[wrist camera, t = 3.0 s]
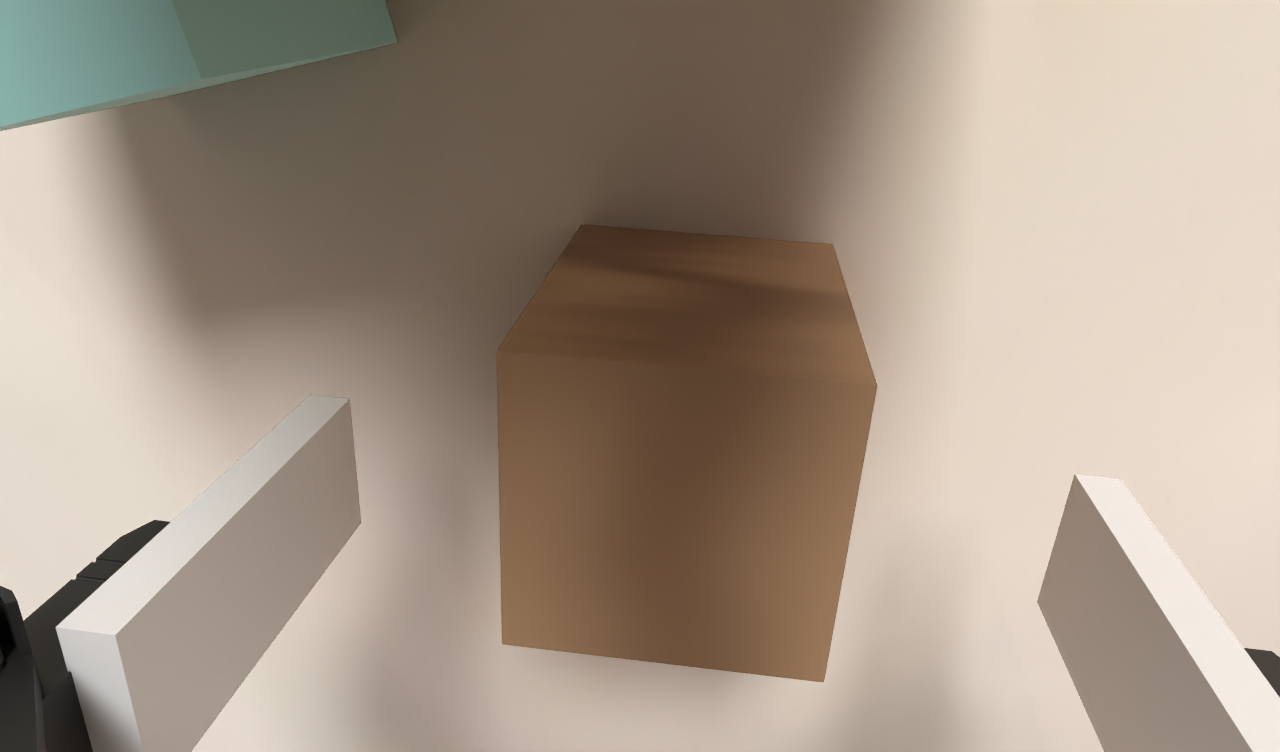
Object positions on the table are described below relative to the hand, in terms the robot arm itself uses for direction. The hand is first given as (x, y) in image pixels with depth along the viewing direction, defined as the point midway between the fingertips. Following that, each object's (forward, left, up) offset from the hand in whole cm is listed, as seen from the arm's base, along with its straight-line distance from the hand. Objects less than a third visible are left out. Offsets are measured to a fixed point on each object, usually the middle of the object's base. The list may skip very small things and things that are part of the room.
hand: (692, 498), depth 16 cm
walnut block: (0, 0, -7) cm, 7 cm away
